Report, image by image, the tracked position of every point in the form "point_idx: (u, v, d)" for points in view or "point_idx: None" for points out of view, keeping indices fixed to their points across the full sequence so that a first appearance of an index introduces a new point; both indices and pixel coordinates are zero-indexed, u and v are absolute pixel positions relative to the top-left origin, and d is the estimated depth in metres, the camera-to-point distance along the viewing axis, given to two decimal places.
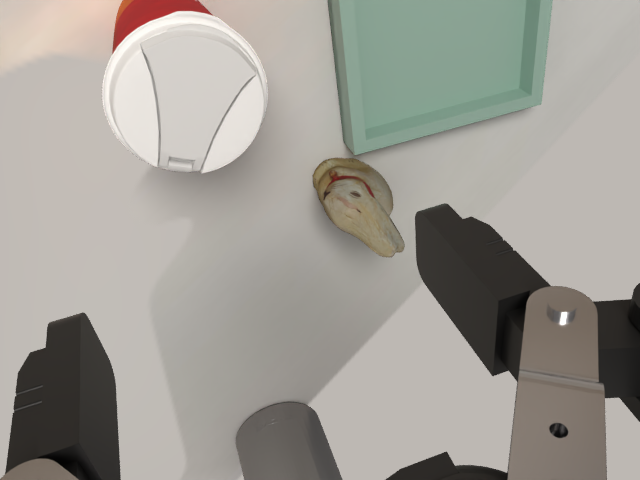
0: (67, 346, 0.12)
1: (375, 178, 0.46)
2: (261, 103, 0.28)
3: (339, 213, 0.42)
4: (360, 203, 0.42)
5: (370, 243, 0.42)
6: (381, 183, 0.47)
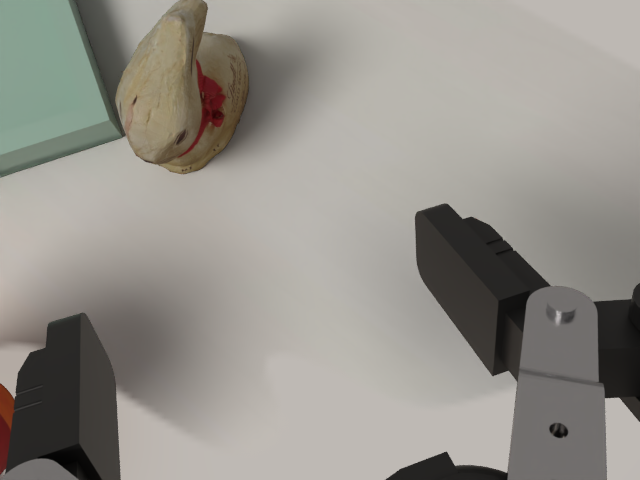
0: (66, 346, 0.12)
1: None
2: None
3: (150, 134, 0.24)
4: (124, 101, 0.24)
5: (175, 66, 0.22)
6: None
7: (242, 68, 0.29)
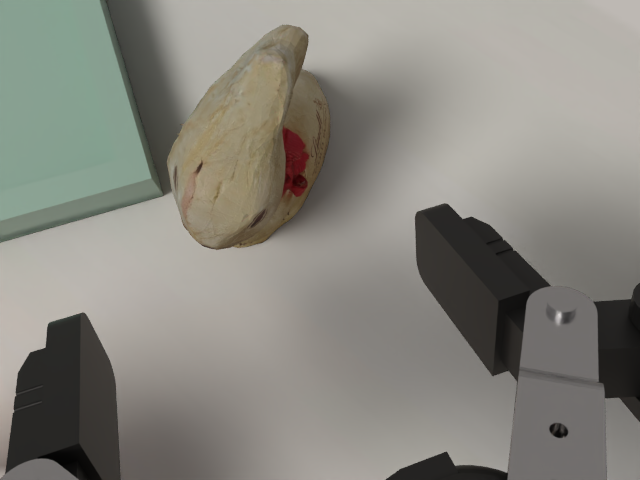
0: (66, 346, 0.12)
1: None
2: None
3: (217, 215, 0.17)
4: (184, 167, 0.17)
5: (265, 126, 0.15)
6: None
7: (327, 116, 0.22)
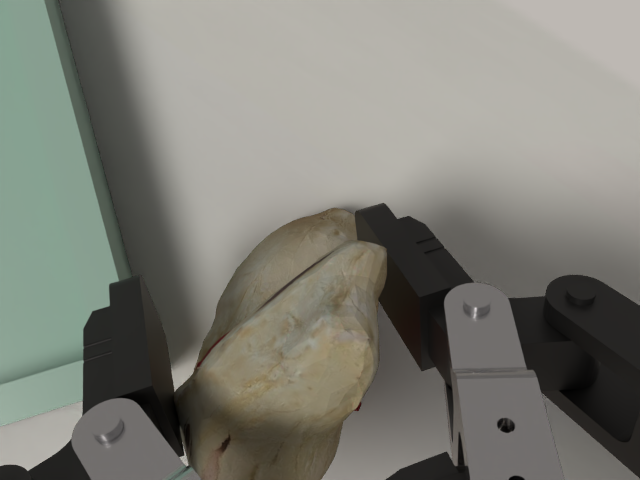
0: (129, 303, 0.13)
1: (223, 297, 0.16)
2: None
3: None
4: (202, 438, 0.11)
5: (332, 413, 0.10)
6: (240, 274, 0.16)
7: None
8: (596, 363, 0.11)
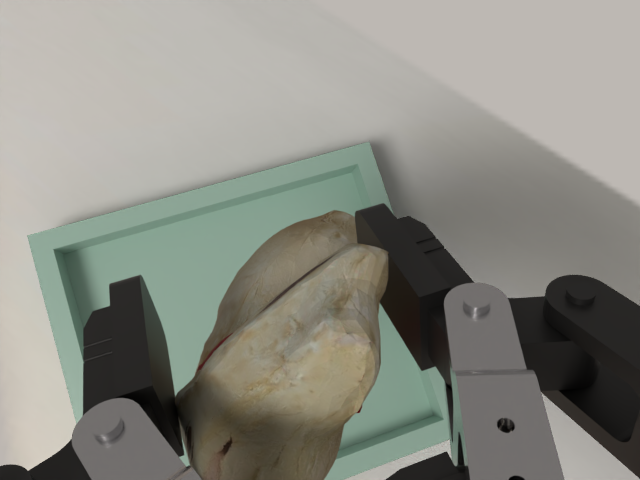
0: (129, 303, 0.13)
1: (225, 299, 0.16)
2: None
3: None
4: (203, 440, 0.11)
5: (333, 416, 0.10)
6: (241, 277, 0.16)
7: None
8: (596, 363, 0.11)
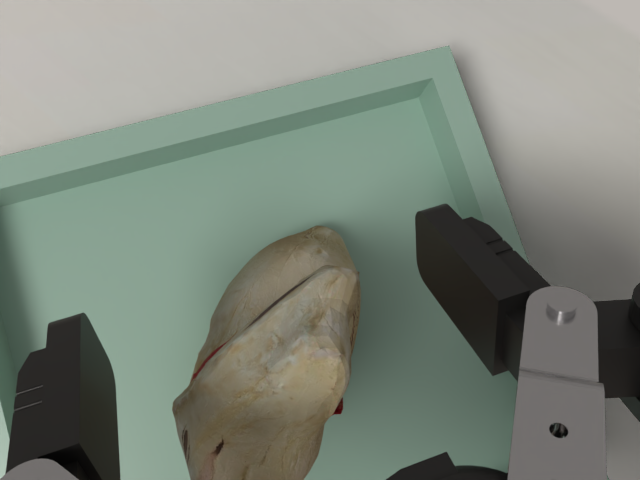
0: (67, 347, 0.12)
1: (216, 312, 0.17)
2: None
3: None
4: (198, 443, 0.13)
5: (311, 419, 0.12)
6: (231, 291, 0.18)
7: (360, 296, 0.19)
8: None
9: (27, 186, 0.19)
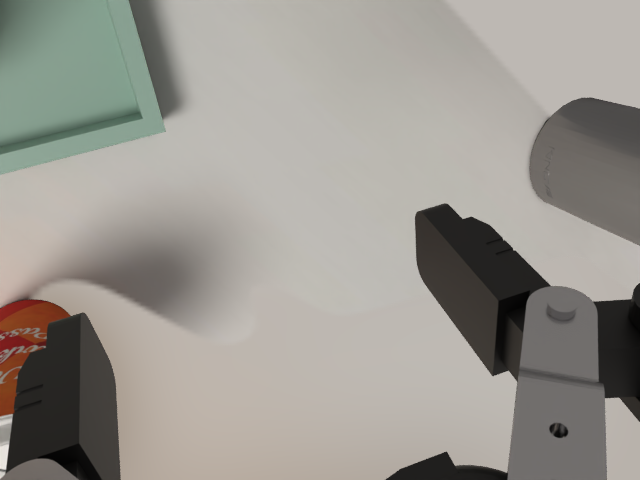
0: (67, 346, 0.12)
1: None
2: (7, 446, 0.24)
3: None
4: None
5: None
6: None
7: None
8: None
9: None
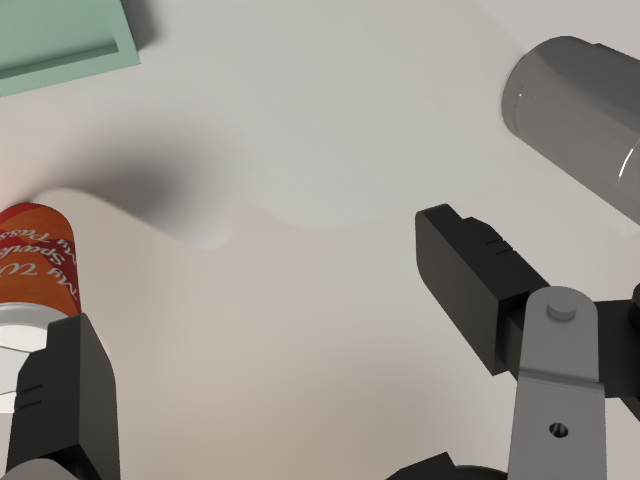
0: (67, 346, 0.12)
1: None
2: None
3: None
4: None
5: None
6: None
7: None
8: None
9: None
